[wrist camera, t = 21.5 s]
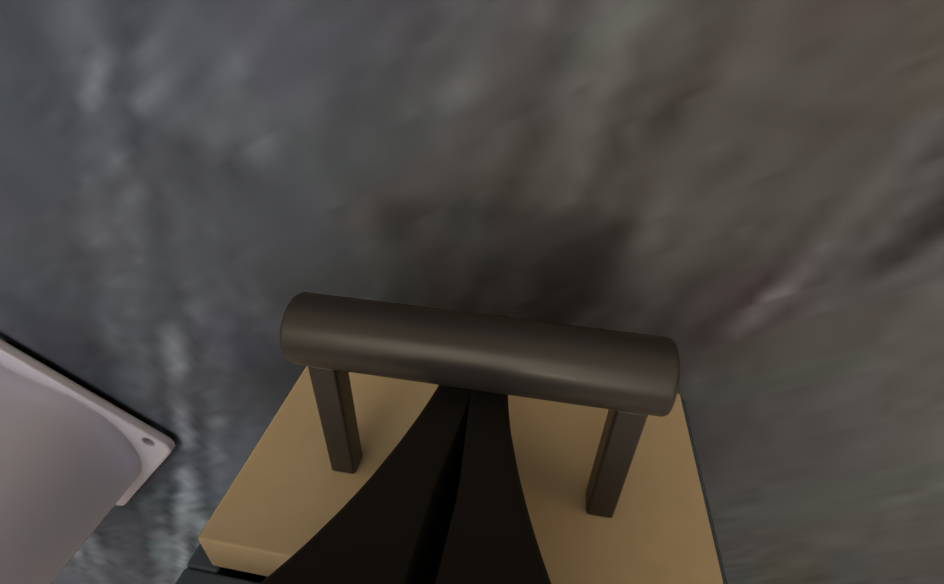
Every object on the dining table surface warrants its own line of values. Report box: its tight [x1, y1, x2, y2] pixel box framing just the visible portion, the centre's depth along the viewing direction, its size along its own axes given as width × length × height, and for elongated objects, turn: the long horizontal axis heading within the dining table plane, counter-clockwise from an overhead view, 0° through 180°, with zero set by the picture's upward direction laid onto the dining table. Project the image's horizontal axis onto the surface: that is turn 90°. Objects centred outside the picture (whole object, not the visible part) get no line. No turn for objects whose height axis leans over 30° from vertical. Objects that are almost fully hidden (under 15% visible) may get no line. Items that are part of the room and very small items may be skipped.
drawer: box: [198, 292, 723, 584], centre depth 14 cm, size 17×11×6 cm, turn 179°
